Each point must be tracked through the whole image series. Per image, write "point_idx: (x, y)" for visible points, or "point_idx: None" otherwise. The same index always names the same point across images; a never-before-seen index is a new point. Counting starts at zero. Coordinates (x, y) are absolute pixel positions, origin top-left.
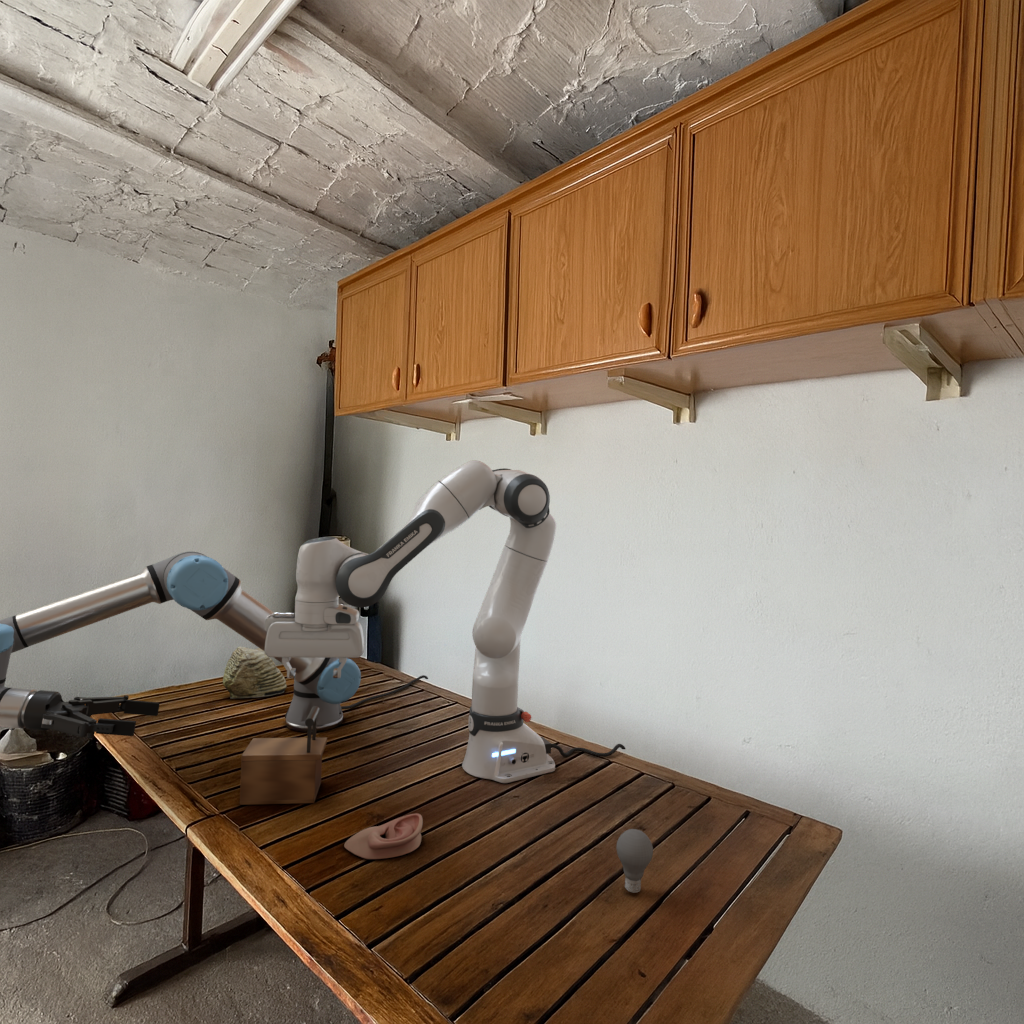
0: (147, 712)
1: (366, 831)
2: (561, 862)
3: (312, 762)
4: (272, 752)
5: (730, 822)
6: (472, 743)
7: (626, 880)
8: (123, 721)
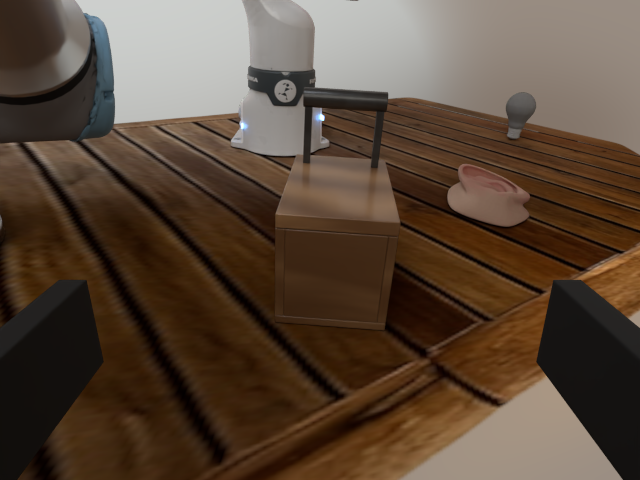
0: (65, 389)
1: (487, 203)
2: (482, 149)
3: None
4: (379, 192)
5: (404, 108)
6: (292, 117)
7: (517, 131)
8: (626, 319)
